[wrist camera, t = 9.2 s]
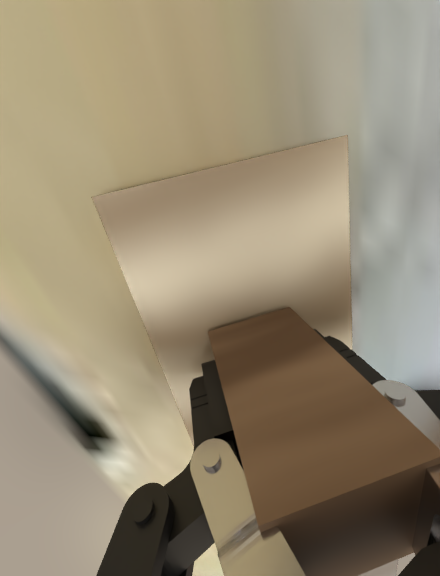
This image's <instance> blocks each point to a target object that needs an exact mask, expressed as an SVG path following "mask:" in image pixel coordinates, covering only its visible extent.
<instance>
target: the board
mask: <svg viewBox="0 0 440 576" xmlns="http://www.w3.org/2000/svg"><path fill="white" fill-rule="evenodd" d="M92 199H93V202H94V204H95V207H96V209H97V212H98V214H99V216H100V219H101V221H102V224H103V226H104V229H105V231H106V234H107V236H108V238H109V241H110V243H111V246H112V248H113V251H114V253H115V256H116V258H117V260H118V263H119V265H120V268H121V270H122V273H123V275H124V277H125V280H126V282H127V285H128V287H129V290H130V292H131V295H132V297H133V299H134V302H135V304H136V307H137V309H138V312H139V314H140V317H141V319H142V321H143V324H144V326H145V329H146V331H147V334H148V336H149V338H150V341H151V343H152V346H153V348H154V351H155V353H156V356H157V358H158V360H159V363H160V365H161V368H162V370H163V373H164V375H165V378H166V380H167V382H168V385H169V387H170V390H171V392H172V395H173V397H174V400H175V402H176V404H177V407H178V409H179V412H180V414H181V417H182V419H183V421H184V424H185V426H186V429H187V431H188V434H189V436H190V439H191V441H192V443H193V446H194V438H193V426H192V415H191V404H190V392H189V388H190V386H191V383H192V380H193V379H194V378H197V377H201V376H203V371H202V365H201V364H202V363H205V362H209V361H212V360H215V358H214V354H213V350H212V346H211V343H210V339H209V335H208V331H212V330H215V329H218V328H222V327H225V326H228V325H231V324H235V323H238V322H241V321H245V320H248V319H251V318H255V317H258V316H261V315H264V314H268V313H271V312H274V311H278V310H281V309H284V308H287V307H290V308H291V309H292V310H293V311H294V312H296V313H297V314H298V315H299V316H300V317H301V318H302V319H303V320H304V321H305V322H306V323H307V324H308V325H309V326H310V327H311V328H312V329H316V330H317V331H318V332H320V333H321V334H322V335H323V336H324V337H327V336H331V337H334V338H336V339H338V340H341V341H342V342H343V343H344V344H345V345H347V346H348V347H349V349H351V350H352V311H351V265H350V219H349V173H348V135H345V136H341V137H337V138H333V139H329V140H325V141H320V142H316V143H312V144H308V145H304V146H300V147H296V148H292V149H287V150H283V151H279V152H275V153H271V154H267V155H263V156H259V157H255V158H250V159H246V160H242V161H238V162H234V163H230V164H226V165H222V166H217V167H213V168H209V169H205V170H201V171H197V172H193V173H189V174H184V175H180V176H176V177H172V178H168V179H164V180H160V181H156V182H151V183H147V184H143V185H139V186H135V187H131V188H127V189H123V190H118V191H114V192H110V193H106V194H102V195H98V196H94V197H92Z"/></svg>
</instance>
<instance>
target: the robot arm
mask: <svg viewBox="0 0 440 576" xmlns="http://www.w3.org/2000/svg"><path fill="white" fill-rule="evenodd" d="M313 330H315V331H316V332H317V333H318V334H319V335H320V336H321V337H322V338H323V339H324V340H325V341H326V342H327V343H328V344H329V345H330V346H331V347H332V348H333V349H335V350H336V351H337V352H338V353H339V354H340V355H341V356H342V357H343V358H344V359H345V360H346V361H347V362H348V363H349V364H350V365H351V366H352V367H354V368H355V369H356V370H357V371H358V372H359V373H360V374H361V375H362V376H363V377H364V378H365V379H366V380H367V381H368V382H369V383H370V384H371V385H372V386H374V387H375V388H376V389H377V390H378V391H379V392H380V393H381V394H382V395H383V396H384V397H385V398H386V399H387V400H388V401H389V402H390V403H391V404H393V405H394V406H395V407H396V408H397V409H398V410H399V411H400V412H401V413H402V414H403V415H404V416H405V417H406V418H407V419H408V420H409V421H410V422H412V423H413V424H414V425H415V426H416V427H417V428H418V429H419V430H420V431H421V432H422V433H423V434H424V435H425V436H426V437H427V438H428V439H429V440H430V441H432V442H433V443H434V444H435V445H436V446H437V447H438V448H439V449H440V390H421V391H420V390H413V389H412V388H411V387H409V386H407V385H405V384H403V383H400V382H397V381H392V380H386V379H385V378H384V377H383V376H381V375H380V374H379V373H378V372H377V371H376V370H374V369H373V368H372V367H371V366H370V365H369V364H367V363H366V362H365V361H364V360H363V359H362V358H361V357H359V356H357V355H356V353H355V352H354V351H352V350H351V349H349V347H348V346H347V345H345V344H344V343H343V342H342V341H341V340H338V339H336V338H334V337H331V336H327V337H324V336H323V335H322V334H321V333H320V332H318V331H317V330H316V329H313ZM201 365H202V371H203V376H201V377H197V378H194V379H193V380H192V383H191V386H190V388H189V392H190V404H191V415H192V426H193V438H194V452H193V455H192V458H191V460H190V462H189V464H188V465H187V467H186V468H185V469H184V470H183V472H181V473H180V474H179V475H178V476H177V477H175V478H174V479H173V480H171V481H170V482H169V483H167V484H166V485H165V486H162V485H161V484H158V483H148V484H145V485H143V486H142V487H140V488H138V489H137V490H136V491H135V492H134V493H133V494H132V495H131V496H130V498H129V499H128V501H127V502H126V504H125V506H124V508H123V510H122V513H121V515H120V518H119V520H118V523H117V525H116V528H115V530H114V533H113V535H112V538H111V540H110V543H109V545H108V548H107V551H106V553H105V555H104V558H103V560H102V563H101V565H100V568H99V570H98V573H97V576H192V572H193V566H194V561H195V560H196V559H197V558H198V557H200V556H201V555H202V554H203V553H204V552H205V551H206V550H207V549H208V548H209V547H210V546H211V545H212V544H213V543H214V542H215V545H216V548H217V551H218V557H219V561H220V564H221V567H222V570H223V573H224V576H305V574H304V572H303V570H302V568H301V567H300V565H299V563H298V561H297V559H296V558H295V556H294V554H293V552H292V551H291V549H290V547H289V545H288V543H287V542H286V540H285V538H284V536H283V535H282V533H281V531H280V529H279V528H278V526H275V527H273V528H270V529H268V530H265V531H263V532H261V533H260V530H259V527H258V523H257V519H256V516H255V512H254V508H253V504H252V500H251V496H250V493H249V489H248V485H247V481H246V477H245V473H244V470H243V466H242V462H241V458H240V454H239V450H238V446H237V443H236V439H235V435H234V431H233V427H232V423H231V420H230V416H229V412H228V408H227V404H226V400H225V396H224V393H223V389H222V385H221V381H220V377H219V373H218V370H217V366H216V362H215V360H212V361H209V362H205V363H202V364H201ZM412 548H413V551H414V553H415V555H416V556H415V557H414V558H413V559H412V561H410V563H409V564H408V565H407V566H406V567H405V568H404V570H403V571H402V572H401V573H400V574H399V575H398V576H440V464H437V465H434V466H431V467H429V468H426V473H425V478H424V484H423V489H422V494H421V500H420V505H419V511H418V516H417V521H416V527H415V532H414V538H413V543H412Z"/></svg>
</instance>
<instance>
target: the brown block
mask: <svg viewBox="0 0 440 576" xmlns="http://www.w3.org/2000/svg"><path fill="white" fill-rule="evenodd" d="M208 335H209V339H210V343H211V346H212V350H213V354H214V358H215V362H216V366H217V370H218V373H219V377H220V381H221V385H222V389H223V393H224V396H225V400H226V404H227V408H228V412H229V416H230V420H231V423H232V427H233V431H234V435H235V439H236V443H237V446H238V450H239V454H240V458H241V462H242V466H243V470H244V473H245V477H246V481H247V485H248V489H249V493H250V496H251V500H252V504H253V508H254V512H255V516H256V519H257V523H258V527H259V530H260V533H261V532H263V531H265V530H268V529H270V528H273V527H275V526H278V528H279V529H280V531H281V533H282V535H283V536H284V538H285V540H286V542H287V543H288V545H289V547H290V549H291V551H292V552H293V554H294V556H295V558H296V559H297V561H298V563H299V565H300V567H301V568H302V570H303V572H304V574H305V576H396V572H397V565H398V559H399V558H402V557H404V556H406V555H408V554H411V553H413V552H414V551H413V548H412V543H413V538H414V532H415V527H416V521H417V516H418V511H419V505H420V500H421V494H422V489H423V484H424V478H425V473H426V468H429V467H431V466H434V465H437V464H440V449H439V448H438V447H437V446H436V445H435V444H434V443H433V442H432V441H430V440H429V439H428V438H427V437H426V436H425V435H424V434H423V433H422V432H421V431H420V430H419V429H418V428H417V427H416V426H415V425H414V424H413V423H412V422H410V421H409V420H408V419H407V418H406V417H405V416H404V415H403V414H402V413H401V412H400V411H399V410H398V409H397V408H396V407H395V406H394V405H393V404H391V403H390V402H389V401H388V400H387V399H386V398H385V397H384V396H383V395H382V394H381V393H380V392H379V391H378V390H377V389H376V388H375V387H374V386H372V385H371V384H370V383H369V382H368V381H367V380H366V379H365V378H364V377H363V376H362V375H361V374H360V373H359V372H358V371H357V370H356V369H355V368H354V367H352V366H351V365H350V364H349V363H348V362H347V361H346V360H345V359H344V358H343V357H342V356H341V355H340V354H339V353H338V352H337V351H336V350H335V349H333V348H332V347H331V346H330V345H329V344H328V343H327V342H326V341H325V340H324V339H323V338H322V337H321V336H320V335H319V334H318V333H317V332H316V331H315V330H313V329H312V328H311V327H310V326H309V325H308V324H307V323H306V322H305V321H304V320H303V319H302V318H301V317H300V316H299V315H298V314H297V313H296V312H294V311H293V310H292V309H291V308H290V307H287V308H284V309H281V310H278V311H274V312H271V313H268V314H264V315H261V316H258V317H255V318H251V319H248V320H245V321H241V322H238V323H235V324H231V325H228V326H225V327H222V328H218V329H215V330H212V331H208Z"/></svg>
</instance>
